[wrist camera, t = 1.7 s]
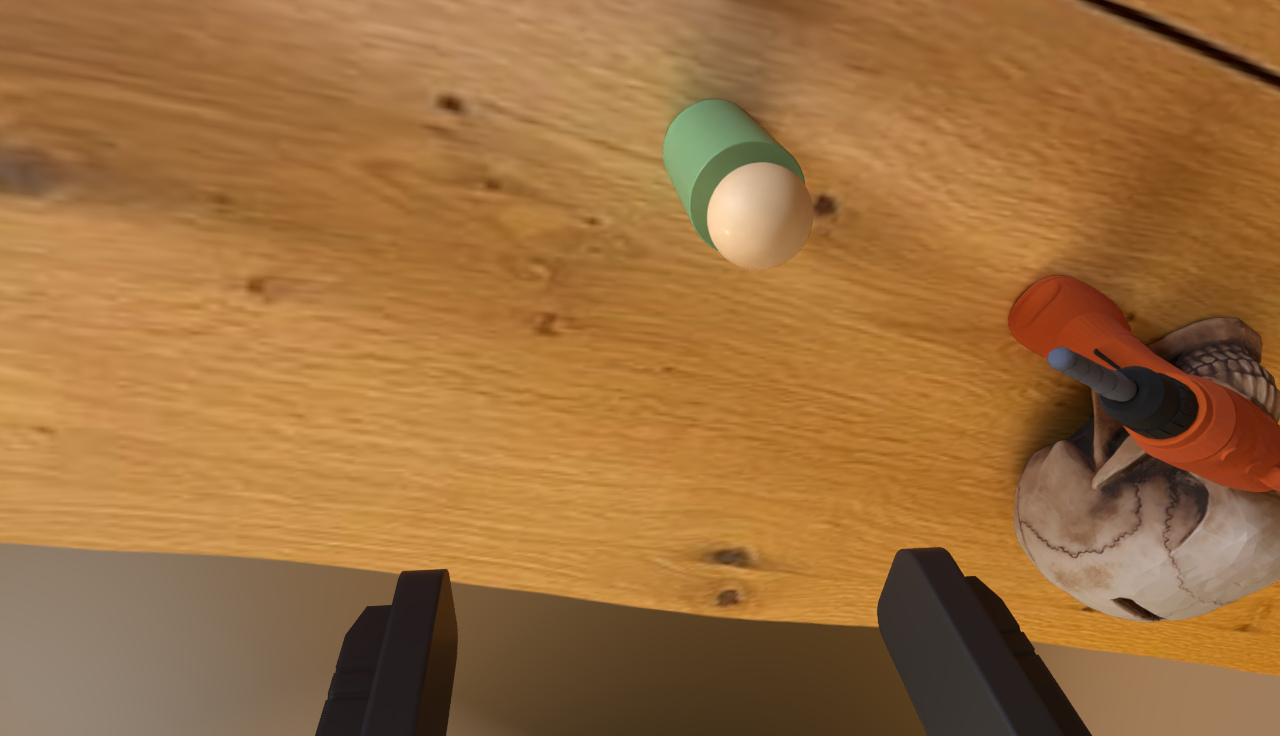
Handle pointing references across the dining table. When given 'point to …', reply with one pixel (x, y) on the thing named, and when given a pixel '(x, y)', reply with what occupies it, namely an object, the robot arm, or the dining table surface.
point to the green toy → (738, 185)
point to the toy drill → (1148, 387)
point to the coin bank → (1153, 503)
